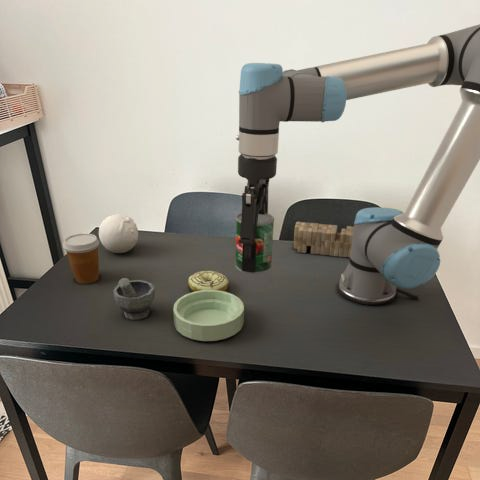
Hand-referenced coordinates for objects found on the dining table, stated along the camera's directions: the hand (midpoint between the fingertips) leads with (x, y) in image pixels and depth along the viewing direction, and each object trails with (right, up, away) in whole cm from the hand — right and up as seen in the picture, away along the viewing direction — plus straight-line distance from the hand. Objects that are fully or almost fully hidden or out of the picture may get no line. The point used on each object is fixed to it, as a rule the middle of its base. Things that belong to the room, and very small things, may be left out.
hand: (253, 262), depth 101 cm
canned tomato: (0, -1, 0) cm, 1 cm away
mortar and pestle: (-29, -11, +15) cm, 34 cm away
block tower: (+29, +9, +49) cm, 58 cm away
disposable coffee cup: (-46, -1, +31) cm, 56 cm away
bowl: (-10, -14, +11) cm, 20 cm away
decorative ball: (-41, +9, +48) cm, 63 cm away
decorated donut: (-12, -4, +27) cm, 29 cm away
